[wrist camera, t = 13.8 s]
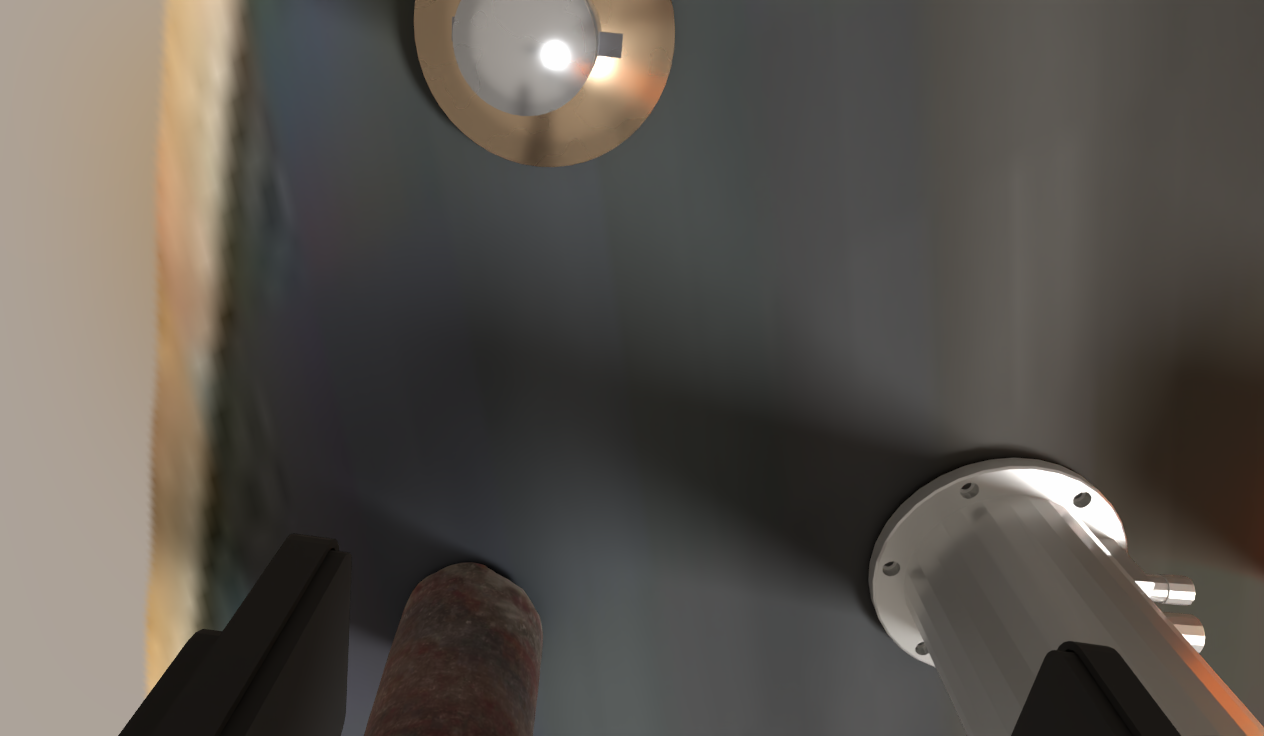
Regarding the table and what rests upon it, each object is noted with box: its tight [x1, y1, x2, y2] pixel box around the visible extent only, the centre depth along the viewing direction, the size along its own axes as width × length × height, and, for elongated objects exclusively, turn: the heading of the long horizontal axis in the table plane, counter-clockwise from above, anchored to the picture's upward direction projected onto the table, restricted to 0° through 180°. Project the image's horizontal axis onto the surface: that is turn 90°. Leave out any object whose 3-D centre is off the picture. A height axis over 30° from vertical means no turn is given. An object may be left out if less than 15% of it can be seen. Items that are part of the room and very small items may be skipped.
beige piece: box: [414, 0, 675, 167], centre depth 30 cm, size 10×10×8 cm
